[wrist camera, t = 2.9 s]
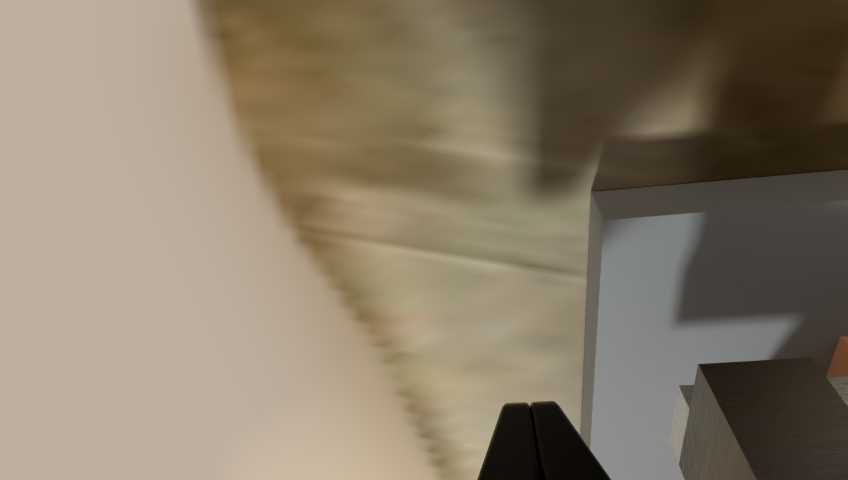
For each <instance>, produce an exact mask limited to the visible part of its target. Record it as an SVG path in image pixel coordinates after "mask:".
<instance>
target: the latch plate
mask: <svg viewBox="0 0 848 480" xmlns="http://www.w3.org/2000/svg"><path fill="white" fill-rule="evenodd" d="M841 336H848V170H837V171H825V172H814V173H802V174H791V175H780V176H768V177H757V178H745V179H734V180H722V181H711V182H699V183H688V184H677V185H665V186H654V187H642V188H631V189H619V190H608V191H597V192H591V203H590V226H589V249H588V272H587V295H586V318H585V342H584V365H583V388H582V411H581V434H580V436H581V438H582V439H583V440H584V442H585V443H586V445H587V446H588V447H589V449H590V450H591V452H592V453H593V455H594V456H595V457H596V459H597V460H598V462H599V463H600V464H601V466H602V467H603V469H604V470H605V471H606V473H607V474H608V476H609V477H610V478H611V480H685V479H684V477H683V474H682V472H681V469H680V466H679V464H678V461H677V459H676V456H675V454H674V451H673V448H672V446H671V443H670V441H669V439H670V433H671V427H672V422H673V416H674V410H675V404H676V398H677V393H678V387H679V385H694V383H695V378H696V373H697V368H698V364H707V363H724V362H741V361H758V360H775V359H792V358H809V357H812V359H813V360H814V362H815V363H816V364H817V366H818V367H819V368H820V370H821V371H822V372H823V374H824V375H825V376H826V375H827V372H828V369H829V367H830V364H831V361H832V358H833V356H834V353H835V350H836V347H837V345H838V342H839V339H840V337H841Z"/></svg>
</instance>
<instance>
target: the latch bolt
mask: <svg viewBox="0 0 848 480" xmlns="http://www.w3.org/2000/svg"><path fill="white" fill-rule="evenodd" d="M669 441H670V443H671V446H672V448H673V451H674V454H675V456H676V459H677V461H678V464H679V466H680V469H681V472H682V474H683V477H684V479H685V480H848V376H839V377H826V376H825V375H824V374H823V372H822V371H821V370H820V368H819V367H818V366H817V364H816V363H815V362H814V360H813V359H812V357H809V358H792V359H775V360H758V361H741V362H724V363H707V364H698V368H697V373H696V378H695V383H694V385H679V387H678V393H677V398H676V404H675V410H674V416H673V422H672V427H671V433H670V439H669Z"/></svg>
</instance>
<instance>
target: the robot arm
mask: <svg viewBox="0 0 848 480" xmlns="http://www.w3.org/2000/svg"><path fill="white" fill-rule="evenodd" d="M478 480H611V478H610V477H609V476H608V474H607V473H606V471H605V470H604V469H603V467H602V466H601V464H600V463H599V462H598V460H597V459H596V457H595V456H594V455H593V453H592V452H591V450H590V449H589V447H588V446H587V445H586V443H585V442H584V440H583V439H582V438H581V436H580V435H579V433H578V432H577V431H576V429H575V428H574V426H573V425H572V424H571V422H570V421H569V419H568V418H567V416H566V415H565V414H564V412H563V411H562V409H561V408H560V407H559V405H558V404H557V403H555V402H554V401H544V402H533V403H531V405H530V406H529V405H528V404H527V403H507V404H505V405H504V406H503V407H502V410H501V412H500V415H499V418H498V421H497V424H496V427H495V430H494V433H493V436H492V439H491V442H490V445H489V447H488V450H487V453H486V456H485V459H484V462H483V465H482V468H481V471H480V474H479V477H478Z"/></svg>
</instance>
